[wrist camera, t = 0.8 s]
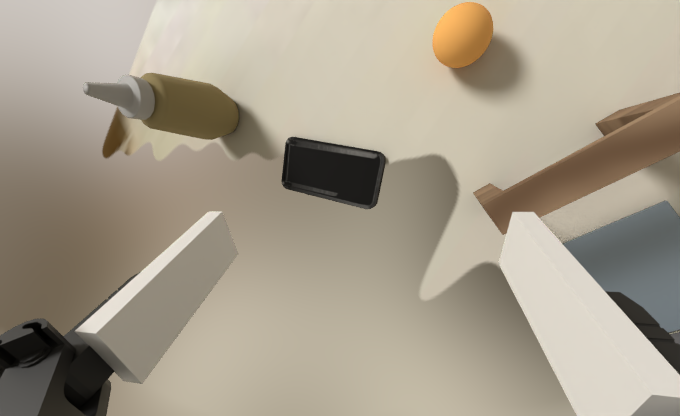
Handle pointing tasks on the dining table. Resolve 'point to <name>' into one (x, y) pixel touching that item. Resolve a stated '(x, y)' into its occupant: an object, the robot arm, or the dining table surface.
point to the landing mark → (638, 260)
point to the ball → (462, 34)
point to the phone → (333, 171)
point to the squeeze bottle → (171, 104)
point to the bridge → (593, 162)
